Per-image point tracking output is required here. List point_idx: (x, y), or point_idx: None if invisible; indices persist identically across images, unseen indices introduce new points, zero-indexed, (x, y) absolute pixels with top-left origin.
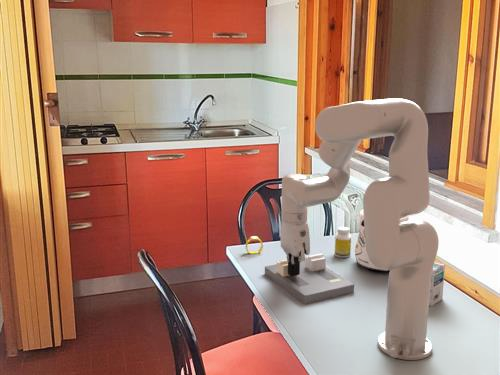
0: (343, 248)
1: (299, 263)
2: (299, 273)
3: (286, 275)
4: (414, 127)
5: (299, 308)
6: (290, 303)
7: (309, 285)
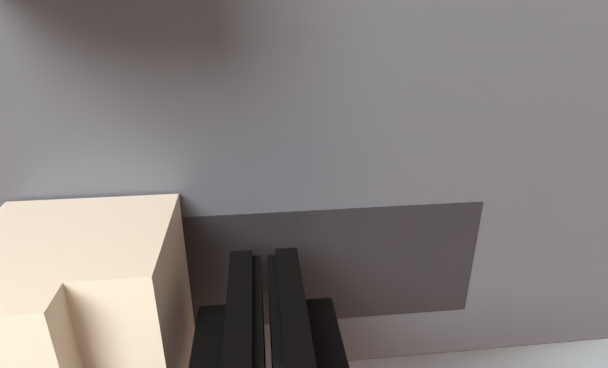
0: None
1: (314, 355)
2: (296, 250)
3: (193, 325)
4: None
5: (601, 342)
6: (510, 362)
7: (505, 215)
